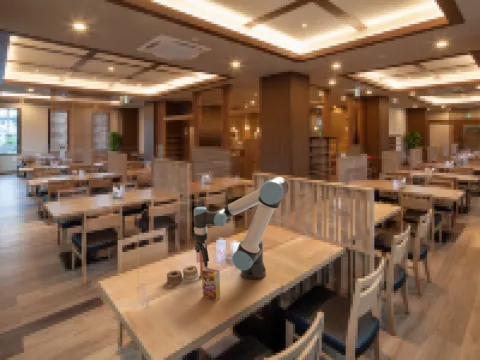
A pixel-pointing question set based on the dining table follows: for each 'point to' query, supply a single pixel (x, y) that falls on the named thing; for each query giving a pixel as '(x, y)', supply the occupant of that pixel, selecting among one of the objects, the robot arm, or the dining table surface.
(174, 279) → the walnut bead
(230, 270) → the dining table surface
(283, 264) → the dining table surface
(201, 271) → the needle
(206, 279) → the candy box
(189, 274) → the beech bead
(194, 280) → the felt mat
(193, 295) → the dining table surface
